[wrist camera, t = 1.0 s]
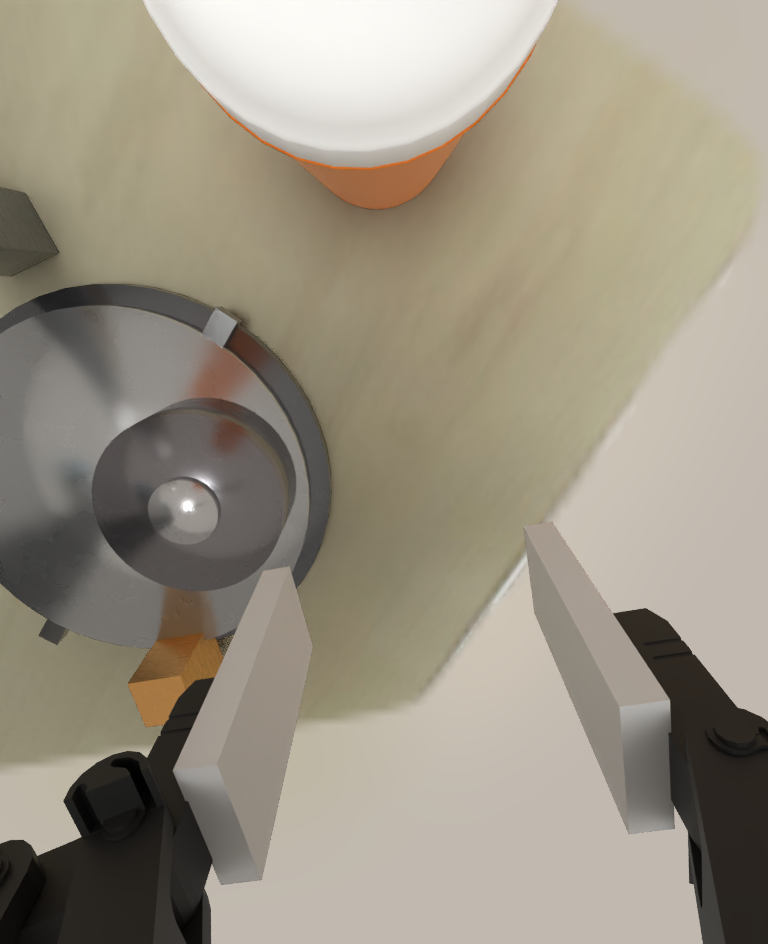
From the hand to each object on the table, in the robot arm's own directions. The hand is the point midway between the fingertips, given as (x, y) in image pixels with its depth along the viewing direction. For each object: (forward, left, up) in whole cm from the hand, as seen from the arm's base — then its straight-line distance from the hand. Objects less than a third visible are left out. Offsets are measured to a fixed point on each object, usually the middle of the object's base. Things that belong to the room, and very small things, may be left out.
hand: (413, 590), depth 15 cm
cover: (-10, 0, -14) cm, 18 cm away
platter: (-15, -1, -16) cm, 22 cm away
